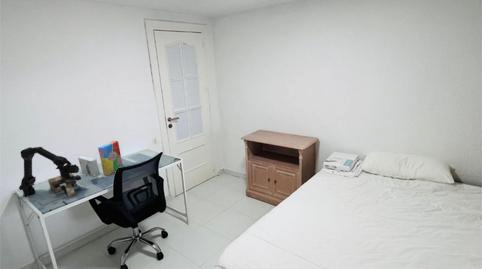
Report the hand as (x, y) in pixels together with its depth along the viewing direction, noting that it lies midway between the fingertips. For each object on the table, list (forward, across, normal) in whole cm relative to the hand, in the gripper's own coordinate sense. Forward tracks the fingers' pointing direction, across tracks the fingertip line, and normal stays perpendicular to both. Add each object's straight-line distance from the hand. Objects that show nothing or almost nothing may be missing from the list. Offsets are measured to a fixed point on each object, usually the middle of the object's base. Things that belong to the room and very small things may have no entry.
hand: (69, 190), depth 199 cm
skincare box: (+2, +25, +24) cm, 35 cm away
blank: (+1, 0, +1) cm, 2 cm away
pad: (+1, -12, -2) cm, 12 cm away
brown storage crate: (+1, 0, +14) cm, 14 cm away
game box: (+2, +41, +12) cm, 43 cm away
